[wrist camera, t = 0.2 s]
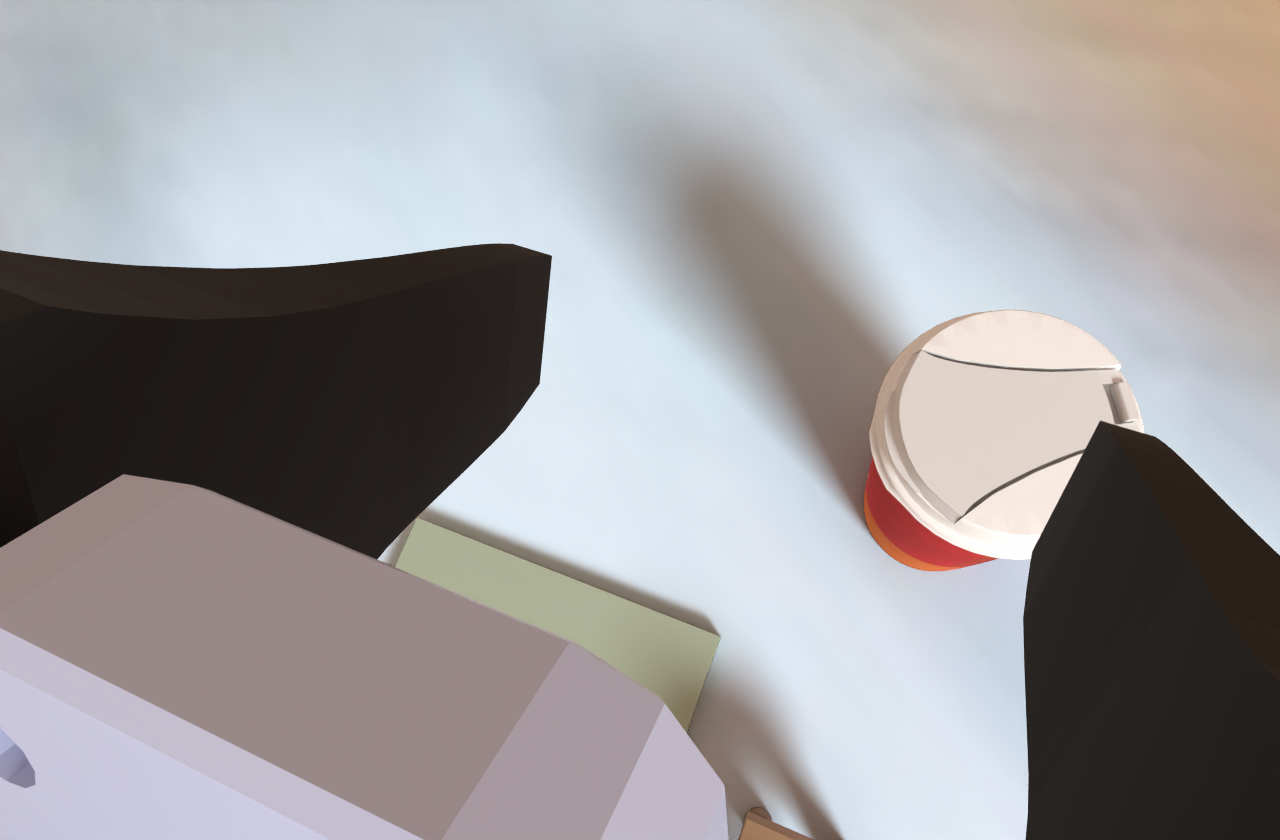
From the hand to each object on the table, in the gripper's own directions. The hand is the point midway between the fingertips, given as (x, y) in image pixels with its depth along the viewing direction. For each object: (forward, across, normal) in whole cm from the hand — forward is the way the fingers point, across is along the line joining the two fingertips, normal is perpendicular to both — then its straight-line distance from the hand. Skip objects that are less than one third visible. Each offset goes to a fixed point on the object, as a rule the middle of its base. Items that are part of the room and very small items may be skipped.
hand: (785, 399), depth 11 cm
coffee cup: (+26, -5, +18) cm, 32 cm away
